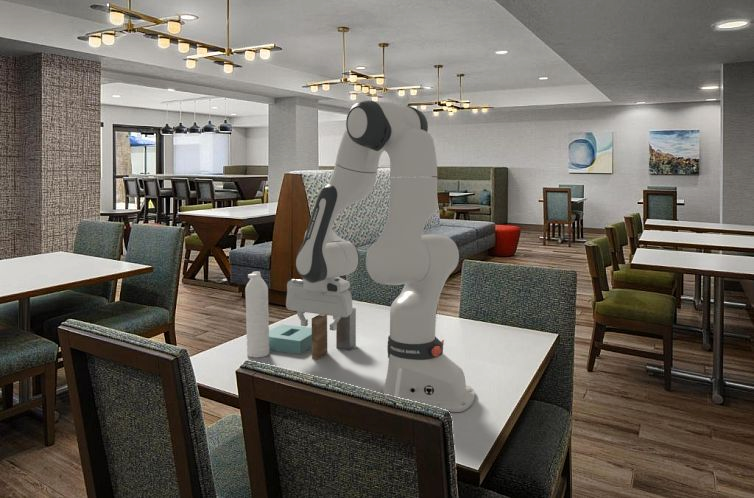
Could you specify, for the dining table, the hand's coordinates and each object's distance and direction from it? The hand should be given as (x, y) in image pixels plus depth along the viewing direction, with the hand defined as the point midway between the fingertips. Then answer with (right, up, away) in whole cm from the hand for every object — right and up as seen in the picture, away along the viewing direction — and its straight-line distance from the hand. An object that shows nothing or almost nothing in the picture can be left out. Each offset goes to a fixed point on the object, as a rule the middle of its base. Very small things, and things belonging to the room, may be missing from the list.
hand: (318, 327), depth 158 cm
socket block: (-10, -7, +11) cm, 16 cm away
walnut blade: (0, -8, +1) cm, 8 cm away
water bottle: (-18, -9, +1) cm, 20 cm away
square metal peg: (+8, -7, +9) cm, 14 cm away
